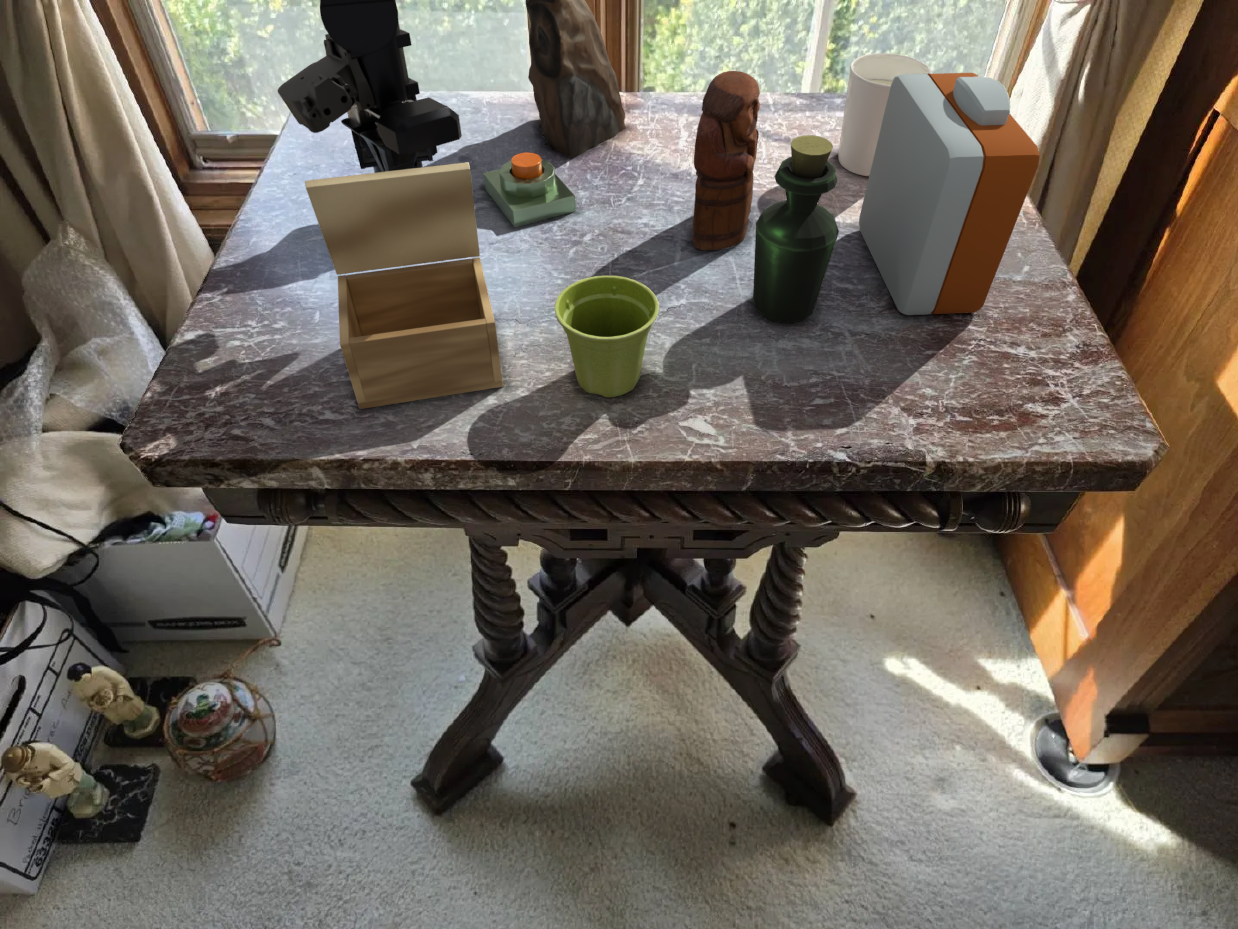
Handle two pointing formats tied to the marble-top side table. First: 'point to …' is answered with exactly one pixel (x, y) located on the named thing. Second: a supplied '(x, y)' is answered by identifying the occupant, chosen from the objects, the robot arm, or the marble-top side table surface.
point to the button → (526, 165)
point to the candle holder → (869, 105)
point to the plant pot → (607, 331)
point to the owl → (572, 77)
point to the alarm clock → (945, 190)
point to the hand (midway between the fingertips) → (399, 194)
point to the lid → (396, 217)
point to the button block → (529, 194)
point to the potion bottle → (796, 234)
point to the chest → (418, 332)
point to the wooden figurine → (725, 161)
